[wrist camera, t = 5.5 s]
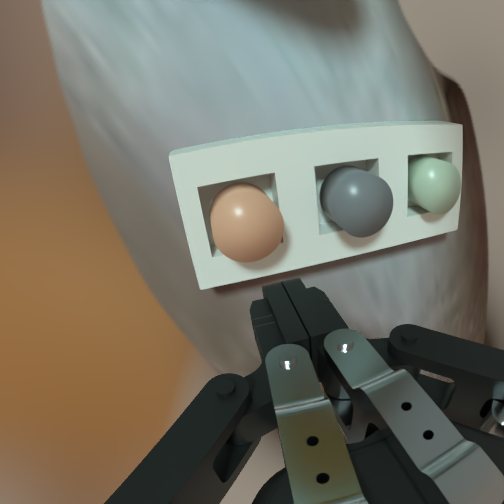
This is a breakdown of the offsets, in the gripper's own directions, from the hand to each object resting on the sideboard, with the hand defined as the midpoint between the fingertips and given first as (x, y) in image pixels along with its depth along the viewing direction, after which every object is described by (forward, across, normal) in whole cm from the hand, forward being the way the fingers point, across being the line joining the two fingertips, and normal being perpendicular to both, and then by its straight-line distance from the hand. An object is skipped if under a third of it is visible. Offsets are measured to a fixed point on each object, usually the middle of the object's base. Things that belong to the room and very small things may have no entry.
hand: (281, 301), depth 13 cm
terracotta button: (+11, 0, 0) cm, 11 cm away
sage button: (+12, -16, 0) cm, 20 cm away
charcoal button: (+11, -8, 0) cm, 13 cm away
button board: (+13, -8, 0) cm, 15 cm away
